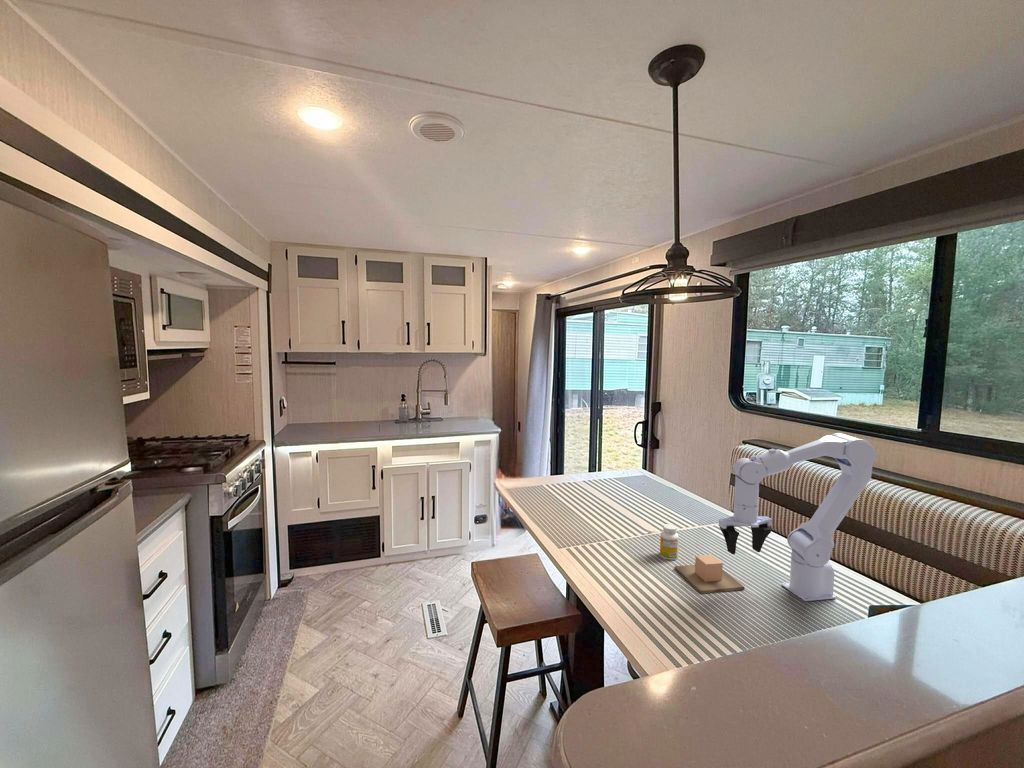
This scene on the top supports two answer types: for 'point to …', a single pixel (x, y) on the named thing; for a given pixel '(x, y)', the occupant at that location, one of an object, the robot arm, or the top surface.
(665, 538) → the supplement bottle
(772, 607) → the top surface
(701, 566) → the terracotta block
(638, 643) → the top surface
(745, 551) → the top surface
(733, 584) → the walnut board
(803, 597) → the robot arm
